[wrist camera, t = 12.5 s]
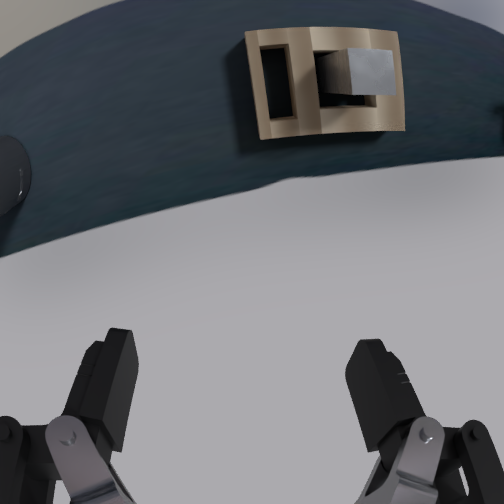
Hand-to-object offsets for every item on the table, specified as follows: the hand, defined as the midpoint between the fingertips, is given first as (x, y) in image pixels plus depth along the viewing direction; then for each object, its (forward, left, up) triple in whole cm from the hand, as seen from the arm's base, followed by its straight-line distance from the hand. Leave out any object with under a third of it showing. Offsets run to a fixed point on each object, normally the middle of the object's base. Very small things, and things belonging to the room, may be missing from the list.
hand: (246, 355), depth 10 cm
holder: (+3, +12, -23) cm, 26 cm away
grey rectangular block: (+4, +13, -23) cm, 27 cm away
